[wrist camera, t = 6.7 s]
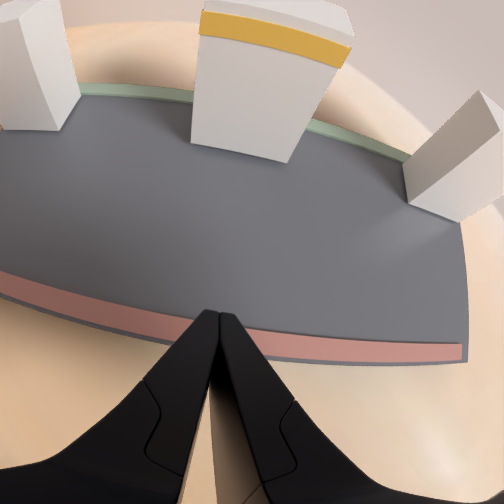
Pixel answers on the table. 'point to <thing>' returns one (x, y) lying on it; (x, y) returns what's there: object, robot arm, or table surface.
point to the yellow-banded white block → (265, 72)
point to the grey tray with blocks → (231, 217)
